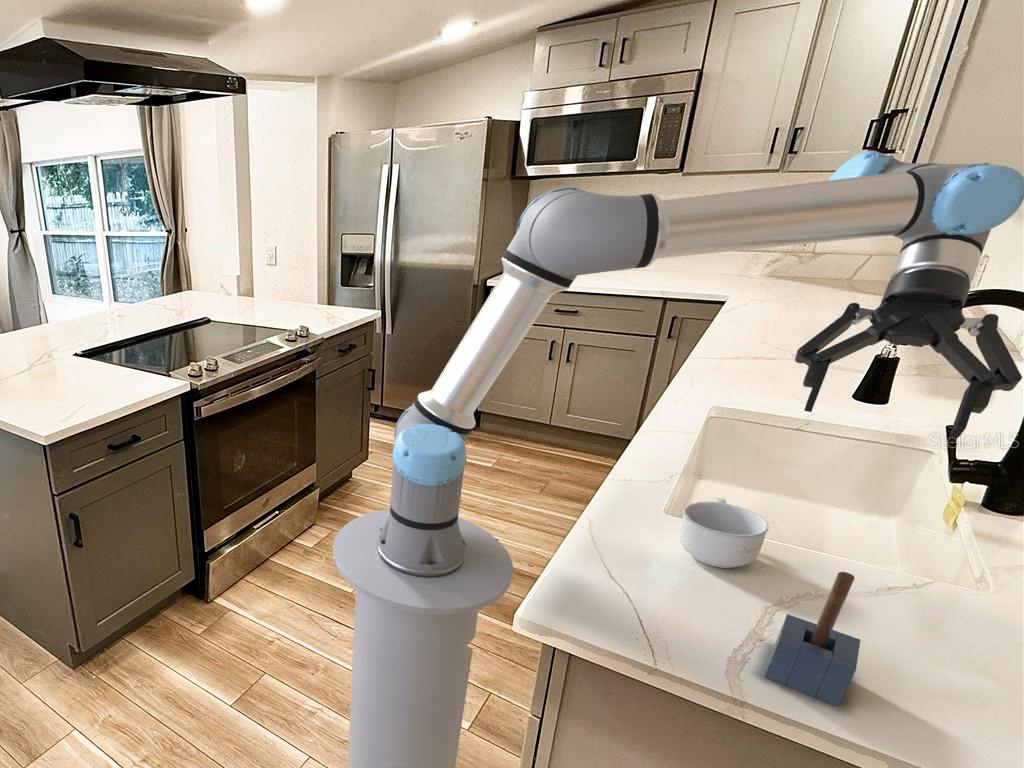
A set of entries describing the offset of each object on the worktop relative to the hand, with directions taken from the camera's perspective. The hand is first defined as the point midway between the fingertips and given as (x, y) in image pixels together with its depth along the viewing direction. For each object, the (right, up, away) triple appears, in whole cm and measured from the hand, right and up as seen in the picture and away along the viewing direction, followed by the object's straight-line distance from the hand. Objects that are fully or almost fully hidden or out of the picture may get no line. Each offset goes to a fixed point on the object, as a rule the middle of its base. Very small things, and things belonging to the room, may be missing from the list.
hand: (878, 419), depth 79 cm
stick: (-10, -33, 0) cm, 35 cm away
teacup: (-2, -22, +24) cm, 33 cm away
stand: (-10, -33, 0) cm, 35 cm away
